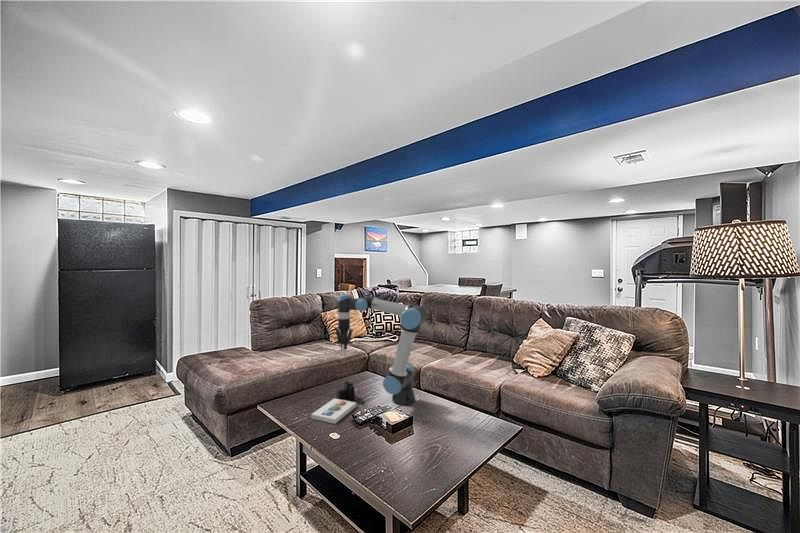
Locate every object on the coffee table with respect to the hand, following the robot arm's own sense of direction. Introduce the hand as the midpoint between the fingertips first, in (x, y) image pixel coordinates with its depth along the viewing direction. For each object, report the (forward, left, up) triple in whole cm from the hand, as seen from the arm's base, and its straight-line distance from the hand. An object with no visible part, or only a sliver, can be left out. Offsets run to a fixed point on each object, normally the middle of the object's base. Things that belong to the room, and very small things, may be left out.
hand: (343, 353), depth 221 cm
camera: (-1, 0, -30) cm, 30 cm away
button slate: (-6, +27, -29) cm, 40 cm away
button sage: (-6, +20, -28) cm, 35 cm away
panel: (-6, +20, -29) cm, 36 cm away
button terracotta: (-6, +13, -29) cm, 32 cm away
